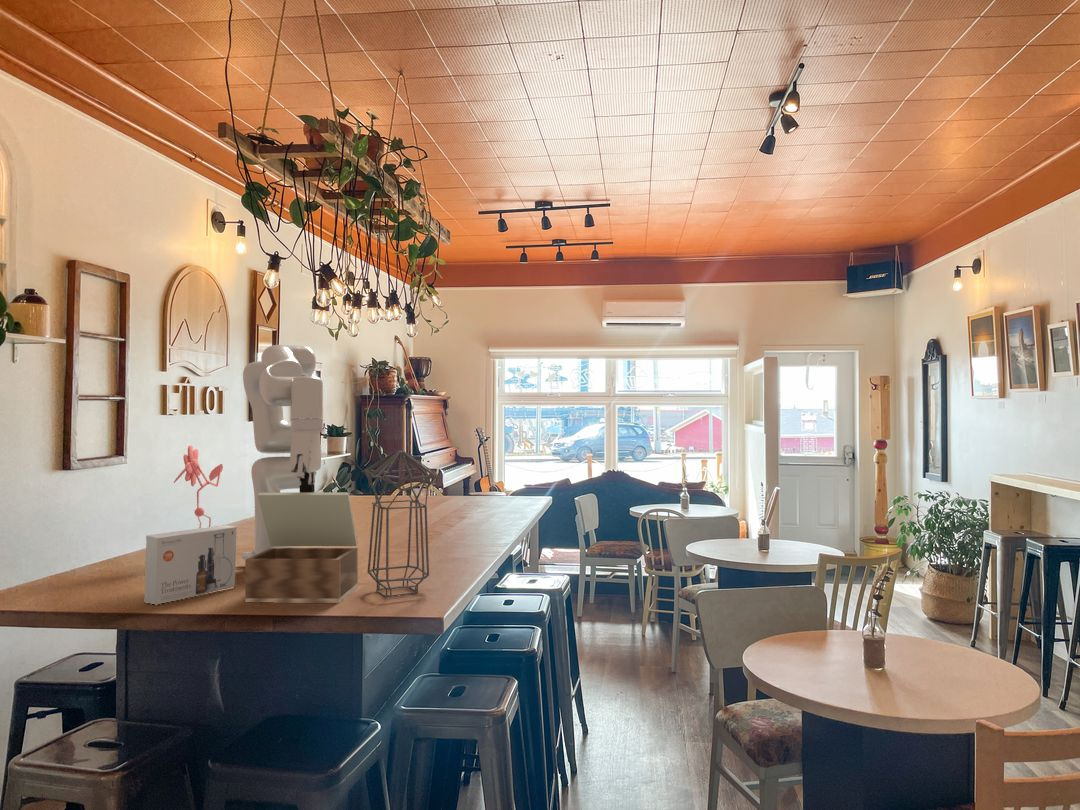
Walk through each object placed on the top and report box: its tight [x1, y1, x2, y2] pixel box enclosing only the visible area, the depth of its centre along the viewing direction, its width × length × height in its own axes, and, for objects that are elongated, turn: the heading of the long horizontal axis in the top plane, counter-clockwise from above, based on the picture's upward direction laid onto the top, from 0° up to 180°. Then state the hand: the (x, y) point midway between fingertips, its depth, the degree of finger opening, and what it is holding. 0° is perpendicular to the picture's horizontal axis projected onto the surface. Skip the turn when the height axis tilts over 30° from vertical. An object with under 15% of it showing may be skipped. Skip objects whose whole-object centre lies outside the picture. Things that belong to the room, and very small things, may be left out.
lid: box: [258, 491, 358, 547], centre depth 184 cm, size 22×16×1 cm
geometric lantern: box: [360, 450, 439, 598], centre depth 182 cm, size 16×16×35 cm
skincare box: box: [143, 524, 238, 605], centre depth 180 cm, size 21×5×16 cm, turn 148°
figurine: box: [173, 444, 224, 529], centre depth 224 cm, size 15×26×35 cm, turn 5°
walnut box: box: [244, 547, 359, 604], centre depth 181 cm, size 22×16×10 cm
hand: (307, 500), depth 183 cm, fingers closed
